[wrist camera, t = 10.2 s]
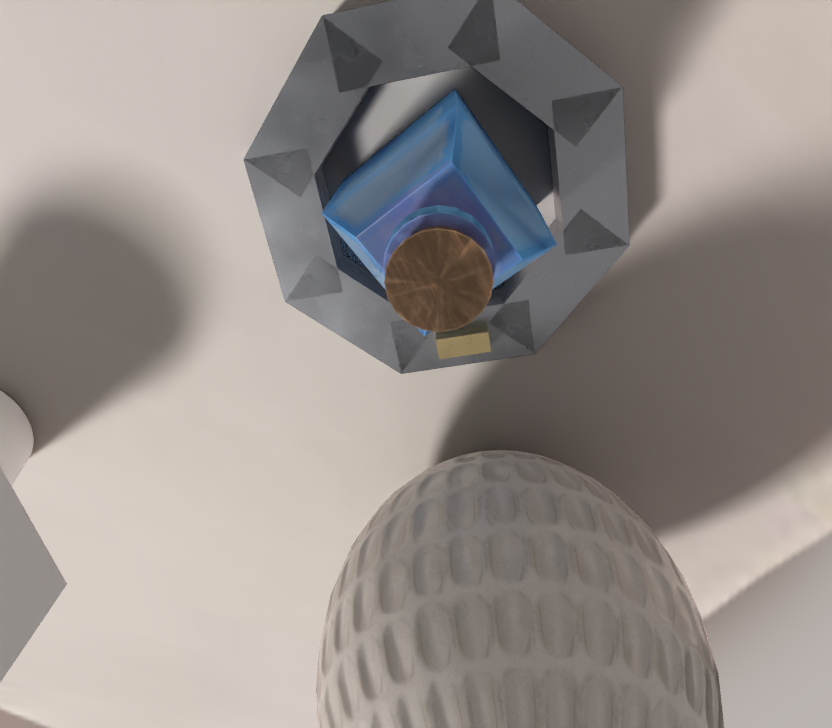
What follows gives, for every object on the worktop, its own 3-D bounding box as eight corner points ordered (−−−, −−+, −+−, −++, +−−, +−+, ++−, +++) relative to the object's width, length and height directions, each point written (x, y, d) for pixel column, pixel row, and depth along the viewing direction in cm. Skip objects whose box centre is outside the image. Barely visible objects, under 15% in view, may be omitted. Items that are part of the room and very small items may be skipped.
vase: (497, 321, 32) (581, 777, 13) (697, 505, 37) (991, 1053, 17) (294, 507, 38) (131, 1022, 18) (489, 647, 43) (529, 1181, 23)
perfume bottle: (536, 205, 30) (587, 301, 19) (427, 283, 32) (419, 410, 21) (455, 88, 28) (462, 123, 17) (344, 179, 30) (288, 262, 19)
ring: (223, 39, 27) (201, 40, 25) (604, -43, 25) (622, -51, 23) (317, 368, 34) (307, 395, 32) (623, 322, 32) (638, 346, 30)
